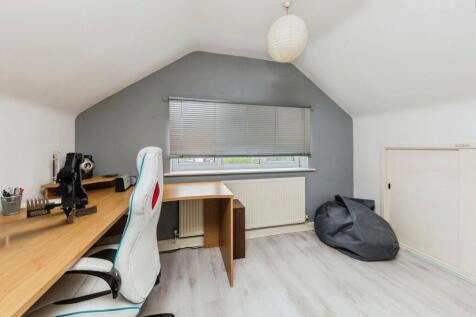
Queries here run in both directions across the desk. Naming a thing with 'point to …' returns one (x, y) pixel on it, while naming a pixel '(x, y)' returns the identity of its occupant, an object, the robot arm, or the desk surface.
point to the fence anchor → (86, 211)
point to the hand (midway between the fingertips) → (67, 218)
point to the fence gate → (72, 217)
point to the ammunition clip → (37, 208)
